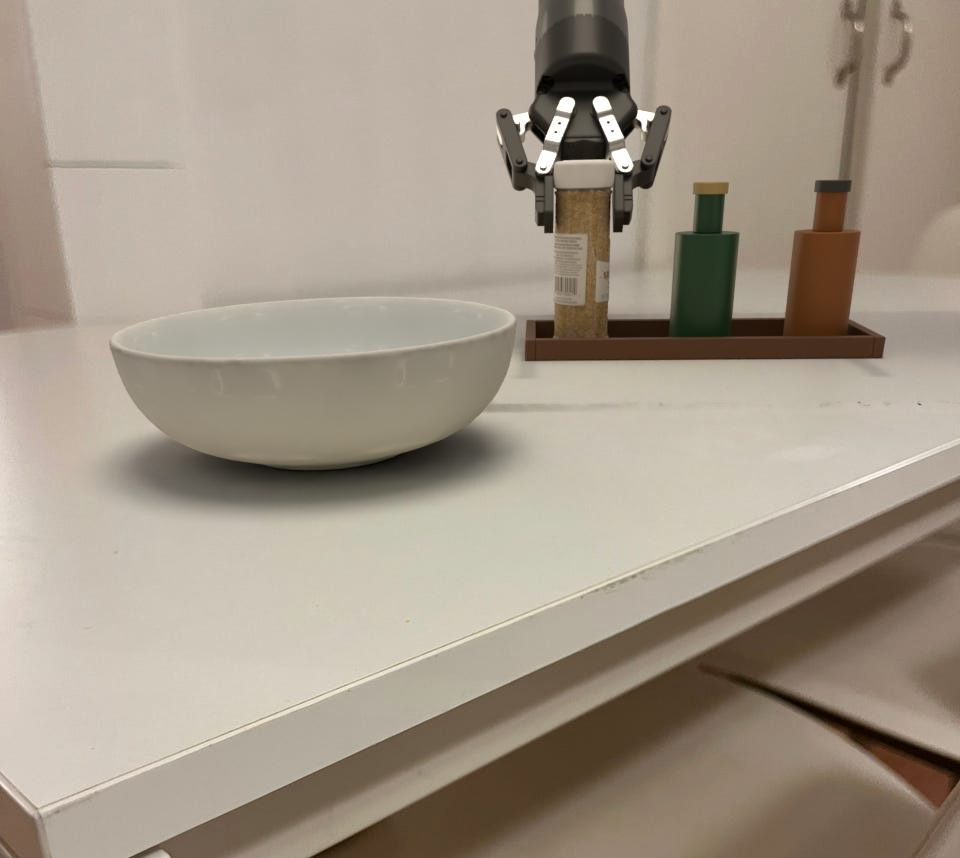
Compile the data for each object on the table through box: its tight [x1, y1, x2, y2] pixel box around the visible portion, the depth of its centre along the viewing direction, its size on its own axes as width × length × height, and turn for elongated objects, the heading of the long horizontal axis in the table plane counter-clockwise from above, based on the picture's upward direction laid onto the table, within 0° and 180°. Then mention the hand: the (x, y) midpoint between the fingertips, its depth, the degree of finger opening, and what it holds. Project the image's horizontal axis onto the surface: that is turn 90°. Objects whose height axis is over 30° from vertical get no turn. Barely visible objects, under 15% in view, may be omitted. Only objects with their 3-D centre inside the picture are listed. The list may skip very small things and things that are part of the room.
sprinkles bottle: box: [553, 159, 615, 338], centre depth 78 cm, size 5×5×14 cm
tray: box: [524, 317, 886, 362], centre depth 80 cm, size 27×11×2 cm, turn 87°
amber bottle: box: [783, 179, 862, 336], centre depth 77 cm, size 5×5×12 cm
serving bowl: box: [108, 296, 518, 471], centre depth 54 cm, size 21×21×7 cm
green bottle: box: [669, 181, 741, 337], centre depth 78 cm, size 5×5×12 cm
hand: (584, 224), depth 75 cm, fingers closed on sprinkles bottle, 4 cm apart
